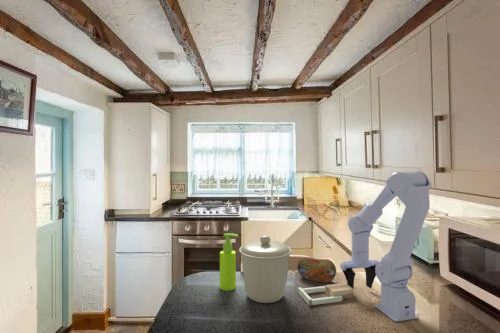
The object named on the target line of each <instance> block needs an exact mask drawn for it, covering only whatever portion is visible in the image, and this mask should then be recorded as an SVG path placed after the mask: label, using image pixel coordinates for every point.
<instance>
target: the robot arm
mask: <svg viewBox="0 0 500 333" xmlns="http://www.w3.org/2000/svg"><path fill="white" fill-rule="evenodd" d="M431 187H432V183H431V181H430V178H429V177H428V176H427V174H426V173H424V172H423V171H421V170H420V171H394V172H393V173H392V174H390V176H389V177H388V178H387V179H386V181H385V186H384V187H383V189H382V190H381V191H380V192H379V194H378V195H377V196H376V198H375V199H374V200H373V201H372V202H371V201H370V202H366V203H364V204H363V207H362V209H361V210H360V211H358V212H357V214H356V215H355V216H350V218H349V219H348V220H347V221H348V222H347V226H348V229H349V231H350V232H351V260H348V261H346V262H340V263H339V266H340V268H339V269H340V270H341V271H342V273H343V275H344V277H345V279H346V282H347V283H346V284H348V285H349V286H350V287H352V288H353V289H354V290H355V288H354V287H355V286H354V285H355V284H354V283H355V277H356V275H357V274H356V272H355V271H354V270H353V269H355V270H356V269H364V272H365V284H366V285H365V286H366V287H367V288H369V289H372V287H373V283H374V280H375V279H376V277H377V279H378V282H379V283H380V303H377V304H374V307H375V308H377V309H378V310H379V311H380V312H382V313H383V314H384V315H386V316H387V317H388V318H389V319H391V320H392V321H394V322H403V321H407V320H414V319H415V320H417V319H418V318H419V316H418V315H416V296H415V294H414V293H413V291H411V290H410V288H408V284H409V280H410V279H411V278H413V276H414V273H413V272H414V271H413V266H414V264H415V263H414V261H413V260H412V258H411V255H412V253H413V251H414V247H416V246H415V245H416V243H417V241H418V238H419V235H420V233H421V230H422V228H423V226H424V223H425V220H426V218H427V214H428V213H429V210H430V205H431V204H430V202H431V201H430V189H431ZM396 197H397V198H398V199H399V200H400V202H401V203H402V204H404V206H405V208H404V211H403V214H402V216H401V220H400V223H399V225H398V227H397V231H396V233H395V236H394V238H393V242H392V244H391V247H390V249H389V251H388V252H387V253H386V254H385V255H383V256H382V257H381V260H380V261H378V260H377V259H370V258H369V257H370V255H369V254H370V251H369V250H370V246H369V245H370V244H369V242H370V239H369V238H370V237H371V232H372V231H373V228H374V223H376V221H378V220H379V218H380V217H381V216H383V209H384V208H385V207H387V205H389V203H390V202H392V201H393V200H394V199H395V198H396Z"/></svg>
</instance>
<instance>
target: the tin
mask: <svg viewBox="0 0 500 333" xmlns="http://www.w3.org/2000/svg"><path fill="white" fill-rule="evenodd" d="M298 261H299V262H298V263H297V271H298V273H299V275H300V276H301V277H302V278H303V279H306V280H309V281H316V282H320V283H331V282H332V281H333V280H334V279H335V277H336V275H337V268H336V266H335V264H334V263H333V262H332V261H331V260H329V259H324V258H319V257H318V258H316V257H310V256H306V257H303V258H302V259H300V260H298Z"/></svg>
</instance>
